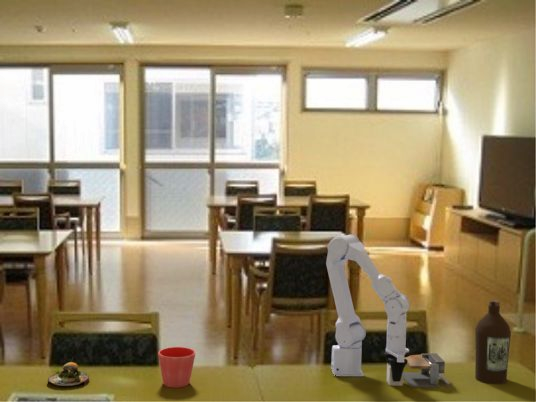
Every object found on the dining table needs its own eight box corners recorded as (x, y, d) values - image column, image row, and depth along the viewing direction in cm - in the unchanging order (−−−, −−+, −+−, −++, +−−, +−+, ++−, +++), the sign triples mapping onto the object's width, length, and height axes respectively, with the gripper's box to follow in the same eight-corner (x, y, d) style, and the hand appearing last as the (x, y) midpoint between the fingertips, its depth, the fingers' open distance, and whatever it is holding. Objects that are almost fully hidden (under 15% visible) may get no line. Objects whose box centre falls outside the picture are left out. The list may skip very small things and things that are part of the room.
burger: (39, 385, 205) (39, 360, 205) (68, 374, 216) (68, 350, 215) (69, 392, 200) (69, 367, 199) (97, 381, 210) (98, 356, 210)
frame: (430, 386, 211) (431, 364, 211) (420, 374, 223) (421, 353, 223) (450, 386, 212) (451, 364, 211) (439, 374, 223) (440, 353, 223)
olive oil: (467, 374, 224) (471, 297, 222) (498, 373, 226) (502, 297, 224) (482, 385, 214) (485, 305, 212) (514, 384, 215) (518, 304, 213)
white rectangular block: (389, 385, 212) (389, 367, 211) (386, 380, 216) (387, 363, 215) (402, 385, 212) (403, 367, 211) (399, 381, 216) (400, 363, 216)
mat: (410, 387, 210) (410, 385, 210) (400, 373, 223) (400, 372, 223) (439, 387, 211) (439, 386, 211) (428, 373, 224) (428, 372, 224)
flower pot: (188, 391, 203) (188, 358, 202) (152, 387, 205) (153, 355, 204) (199, 379, 213) (199, 348, 212) (165, 376, 215) (165, 345, 215)
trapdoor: (410, 373, 212) (410, 361, 212) (403, 364, 221) (404, 352, 221) (444, 373, 213) (444, 361, 212) (436, 364, 222) (436, 353, 221)
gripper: (415, 341, 206) (413, 386, 207) (403, 329, 220) (402, 371, 221) (391, 341, 205) (389, 386, 206) (381, 328, 220) (380, 371, 221)
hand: (394, 378), depth 214 cm, fingers closed on white rectangular block, 4 cm apart
